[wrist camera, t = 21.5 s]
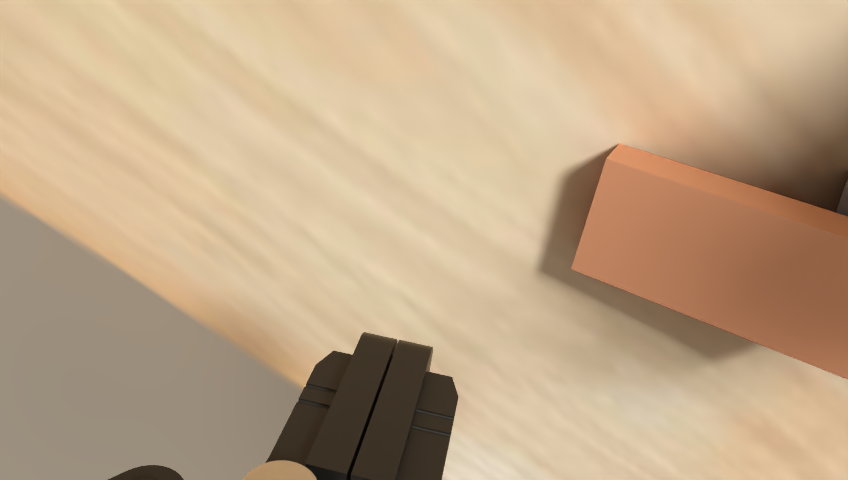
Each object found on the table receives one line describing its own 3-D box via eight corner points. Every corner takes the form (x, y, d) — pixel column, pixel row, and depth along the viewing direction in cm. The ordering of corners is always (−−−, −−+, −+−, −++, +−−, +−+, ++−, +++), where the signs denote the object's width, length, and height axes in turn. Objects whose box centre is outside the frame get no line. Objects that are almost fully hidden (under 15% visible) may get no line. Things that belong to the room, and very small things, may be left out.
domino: (571, 268, 27) (865, 386, 23) (606, 158, 24) (944, 270, 20) (584, 249, 28) (862, 355, 25) (619, 143, 26) (935, 244, 22)
